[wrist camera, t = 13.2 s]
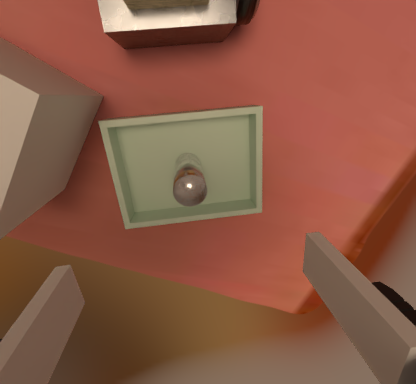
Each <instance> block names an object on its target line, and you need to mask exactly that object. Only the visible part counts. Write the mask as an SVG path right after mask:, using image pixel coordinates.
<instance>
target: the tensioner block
mask: <svg viewBox="0 0 416 384" xmlns="http://www.w3.org/2000/svg"><path fill="white" fill-rule="evenodd" d="M97 1H98V5H99V10H100V15H101V19H102V24H103V29H104V32H105V33H106V34H107V35H108V36H109V37H111V38H112V39H113V40H114V41H115V42H117V43H118V44H119V45H120V46H121V47H123V48H124V49H134V48H147V47H160V46H173V45H187V44H200V43H213V42H223V41H224V39H225V38H226V37H227V35H228V34H229V33H230V31H231V30H232V28H233V27H234V26H235V25H246V24H249V23H250V21H251V19H252V18H253V17H254V16H255V14H256V11H257V8H258V5H259V1H260V0H97Z"/></svg>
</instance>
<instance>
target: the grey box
mask: <svg viewBox="0 0 416 384" xmlns="http://www.w3.org/2000/svg"><path fill="white" fill-rule="evenodd" d="M102 99H103V95H101V94H100V93H98V92H96V91H94V90H92V89H91V88H89V87H87V86H85V85H84V84H82V83H80V82H78V81H77V80H75V79H73V78H71V77H70V76H68V75H66V74H64V73H63V72H61V71H59V70H57V69H56V68H54V67H52V66H50V65H48V64H47V63H45V62H43V61H41V60H40V59H38V58H36V57H34V56H33V55H31V54H29V53H27V52H26V51H24V50H22V49H20V48H19V47H17V46H15V45H13V44H12V43H10V42H8V41H6V40H4V39H3V38H1V37H0V239H1V238H3V237H4V236H5V235H7V234H8V233H9V232H10V231H12V230H13V229H14V228H16V227H17V226H18V225H19V224H21V223H22V222H23V221H25V220H26V219H27V218H28V217H30V216H31V215H32V214H34V213H35V212H36V211H37V210H39V209H40V208H41V207H43V206H44V205H45V204H46V203H48V202H49V201H50V200H52V199H53V198H54V197H55V196H57V195H58V194H59V193H61V192H62V191H63V190H64V189H65V187H66V185H67V183H68V180H69V178H70V175H71V173H72V171H73V168H74V166H75V163H76V161H77V159H78V156H79V154H80V152H81V149H82V147H83V144H84V142H85V140H86V137H87V135H88V132H89V130H90V128H91V125H92V123H93V120H94V118H95V116H96V113H97V111H98V108H99V106H100V104H101V101H102Z"/></svg>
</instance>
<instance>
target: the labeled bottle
mask: <svg viewBox="0 0 416 384" xmlns="http://www.w3.org/2000/svg"><path fill="white" fill-rule="evenodd" d="M173 195H174V198H175V199H176V201H177V202H178V203H180V204H181V205H184V206H188V207H192V206H196V205H198V204H200V203H201V202H203V200H204V199H205V197H206V195H207V186H206V182H205V179H204V175H203V171H202V168H201V164H200V160H199V159H198V157H197V156H196V155H194V154H192V153H183V154H181V155H180V156H179V157H178V158H177V160H176V163H175V173H174V184H173Z"/></svg>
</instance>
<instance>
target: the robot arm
mask: <svg viewBox="0 0 416 384" xmlns="http://www.w3.org/2000/svg"><path fill="white" fill-rule="evenodd" d="M303 273H304V274H305V275H306V277H307V278H308V280H309V281H310V283H311V284H312V285H313V287H314V288H315V290H316V291H317V293H318V294H319V296H320V297H321V298H322V300H323V301H324V303H325V304H326V306H327V307H328V309H329V310H330V311H331V313H332V314H333V316H334V317H335V319H336V320H337V321H338V323H339V324H340V326H341V327H342V329H343V330H344V332H345V333H346V334H347V336H348V337H349V339H350V340H351V342H352V343H353V344H354V346H355V347H356V349H357V350H358V352H359V353H360V355H361V356H362V357H363V359H364V360H365V362H366V363H367V365H368V366H369V368H370V369H371V370H372V372H373V373H374V375H375V376H376V378H377V379H378V381H379V382H380V383H381V384H416V310H414V309H413V307H412V306H411V305H409V303H407V302H405V301H404V299H403V298H402V297H401V296H400V295H399V294H398V293H396V292H395V291H394V290H393V289H391V288H390V287H388V286H386V285H385V284H383V283H381V282H374V283H371V282H370V281H369V280H368V279H367V278H366V277H365V276H364V275H363V274H362V273H361V272H360V271H359V270H357V269H356V268H355V267H354V266H353V265H352V264H351V263H350V262H349V261H348V260H347V259H346V258H345V257H344V256H343V255H342V254H341V253H340V252H339V251H338V250H337V249H336V248H335V247H334V246H333V245H332V244H331V243H330V242H329V241H328V240H327V239H326V238H325V237H324V236H323V235H322V234H321V233H320V232H314V233H306V242H305V252H304V263H303ZM84 304H85V301H84V299H83V296H82V294H81V291H80V288H79V286H78V283H77V281H76V278H75V275H74V273H73V270H72V268H71V265H65V266H58V267H55V268H54V270H53V271H52V272H51V274H50V275H49V277H48V278H47V279H46V281H45V282H44V283H43V285H42V286H41V287H40V289H39V290H38V291H37V293H36V294H35V296H34V297H33V298H32V300H31V301H30V302H29V304H28V305H27V307H26V308H25V309H24V311H23V312H22V313H21V315H20V316H19V317H18V319H17V320H16V321H15V323H14V324H13V326H12V327H11V328H10V330H9V331H8V332H7V334H6V335H5V336H4V338H3V339H0V384H47V383H48V381H49V379H50V377H51V375H52V372H53V371H54V368H55V366H56V364H57V362H58V360H59V357H60V356H61V353H62V351H63V349H64V347H65V344H66V343H67V340H68V338H69V336H70V334H71V332H72V330H73V327H74V325H75V323H76V321H77V319H78V316H79V315H80V312H81V310H82V308H83V306H84Z"/></svg>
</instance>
